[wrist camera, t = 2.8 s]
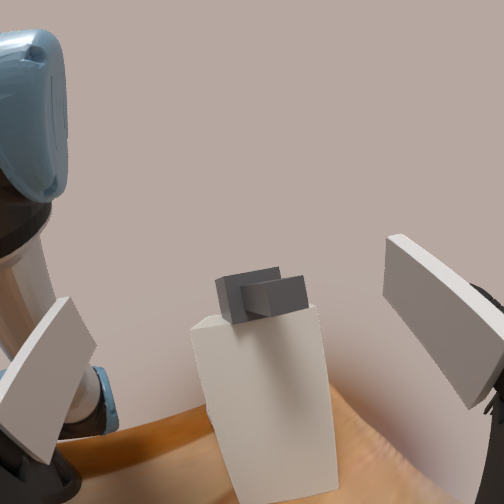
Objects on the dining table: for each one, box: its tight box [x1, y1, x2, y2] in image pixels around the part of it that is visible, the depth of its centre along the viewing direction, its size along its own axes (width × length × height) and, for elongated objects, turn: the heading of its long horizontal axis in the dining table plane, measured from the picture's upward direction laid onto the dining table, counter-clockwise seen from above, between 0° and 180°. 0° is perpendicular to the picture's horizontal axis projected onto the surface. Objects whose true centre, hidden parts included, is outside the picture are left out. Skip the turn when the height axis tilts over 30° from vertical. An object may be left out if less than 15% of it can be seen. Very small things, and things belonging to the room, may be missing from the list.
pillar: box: [189, 303, 339, 504], centre depth 33 cm, size 12×14×28 cm
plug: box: [215, 267, 309, 325], centre depth 29 cm, size 19×6×5 cm, turn 14°
